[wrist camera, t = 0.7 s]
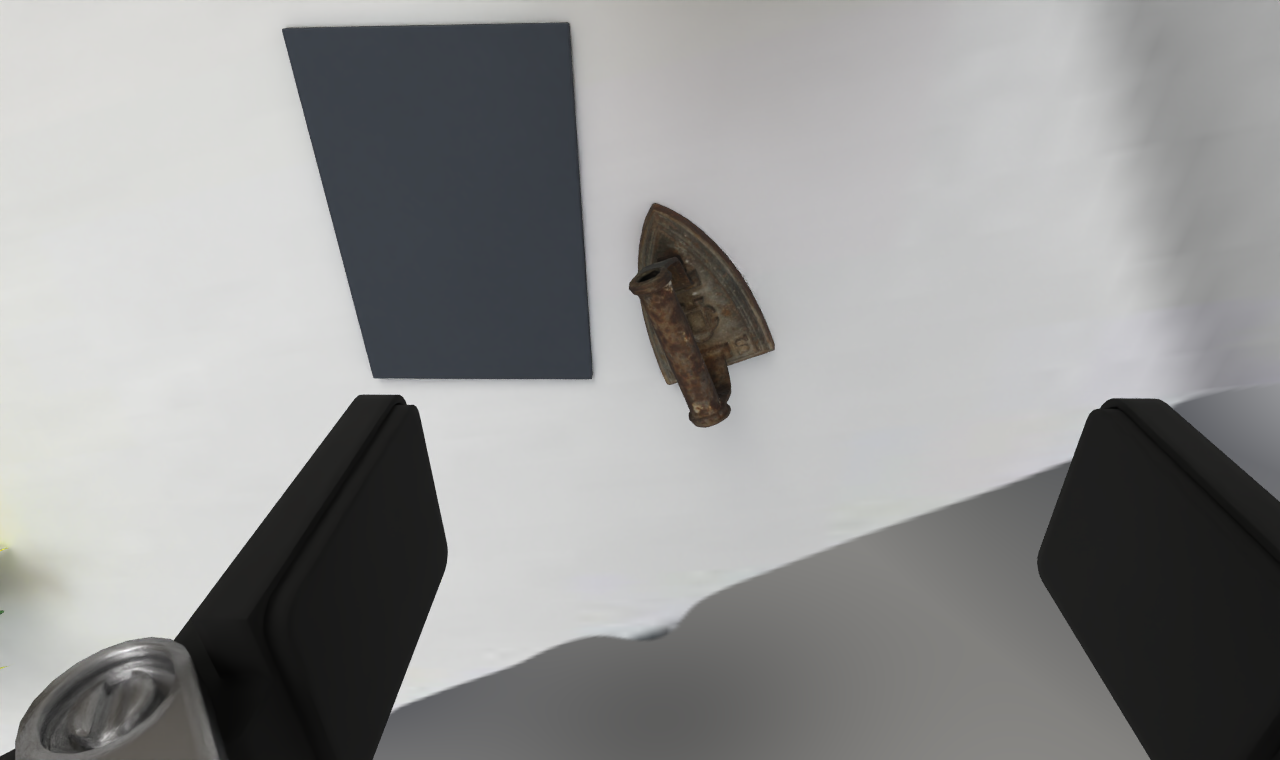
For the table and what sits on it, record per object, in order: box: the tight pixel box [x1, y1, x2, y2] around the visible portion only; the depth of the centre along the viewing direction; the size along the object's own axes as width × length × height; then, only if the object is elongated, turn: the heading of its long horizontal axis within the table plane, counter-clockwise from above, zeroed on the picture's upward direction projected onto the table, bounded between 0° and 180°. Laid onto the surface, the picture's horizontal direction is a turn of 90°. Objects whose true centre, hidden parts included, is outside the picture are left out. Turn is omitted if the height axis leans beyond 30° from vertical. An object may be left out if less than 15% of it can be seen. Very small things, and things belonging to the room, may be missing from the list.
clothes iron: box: [629, 203, 775, 428], centre depth 38 cm, size 7×11×10 cm, turn 24°
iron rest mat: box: [282, 22, 593, 379], centre depth 39 cm, size 20×14×1 cm
